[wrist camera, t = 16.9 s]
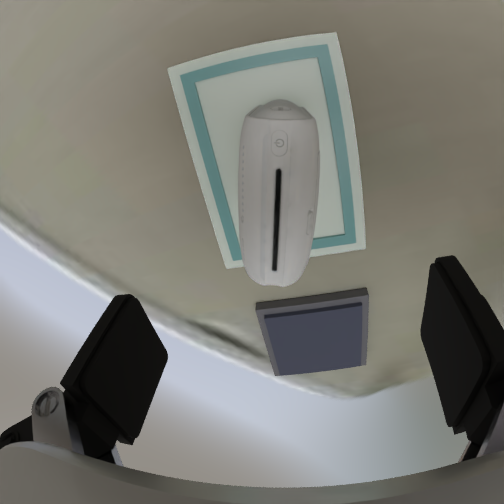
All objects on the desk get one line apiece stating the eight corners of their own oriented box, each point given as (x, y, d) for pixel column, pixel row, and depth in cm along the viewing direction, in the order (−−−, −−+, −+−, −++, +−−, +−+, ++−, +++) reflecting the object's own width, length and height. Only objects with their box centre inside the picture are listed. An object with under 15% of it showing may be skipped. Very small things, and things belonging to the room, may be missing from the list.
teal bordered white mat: (336, 32, 19) (337, 31, 19) (365, 247, 29) (366, 250, 28) (168, 68, 22) (165, 68, 21) (226, 267, 32) (225, 270, 31)
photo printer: (253, 97, 23) (229, 110, 12) (307, 99, 22) (331, 115, 12) (253, 212, 28) (233, 303, 17) (300, 214, 28) (310, 307, 17)
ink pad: (366, 287, 31) (369, 298, 30) (364, 357, 37) (366, 368, 36) (256, 302, 34) (255, 314, 32) (275, 368, 40) (274, 379, 38)
